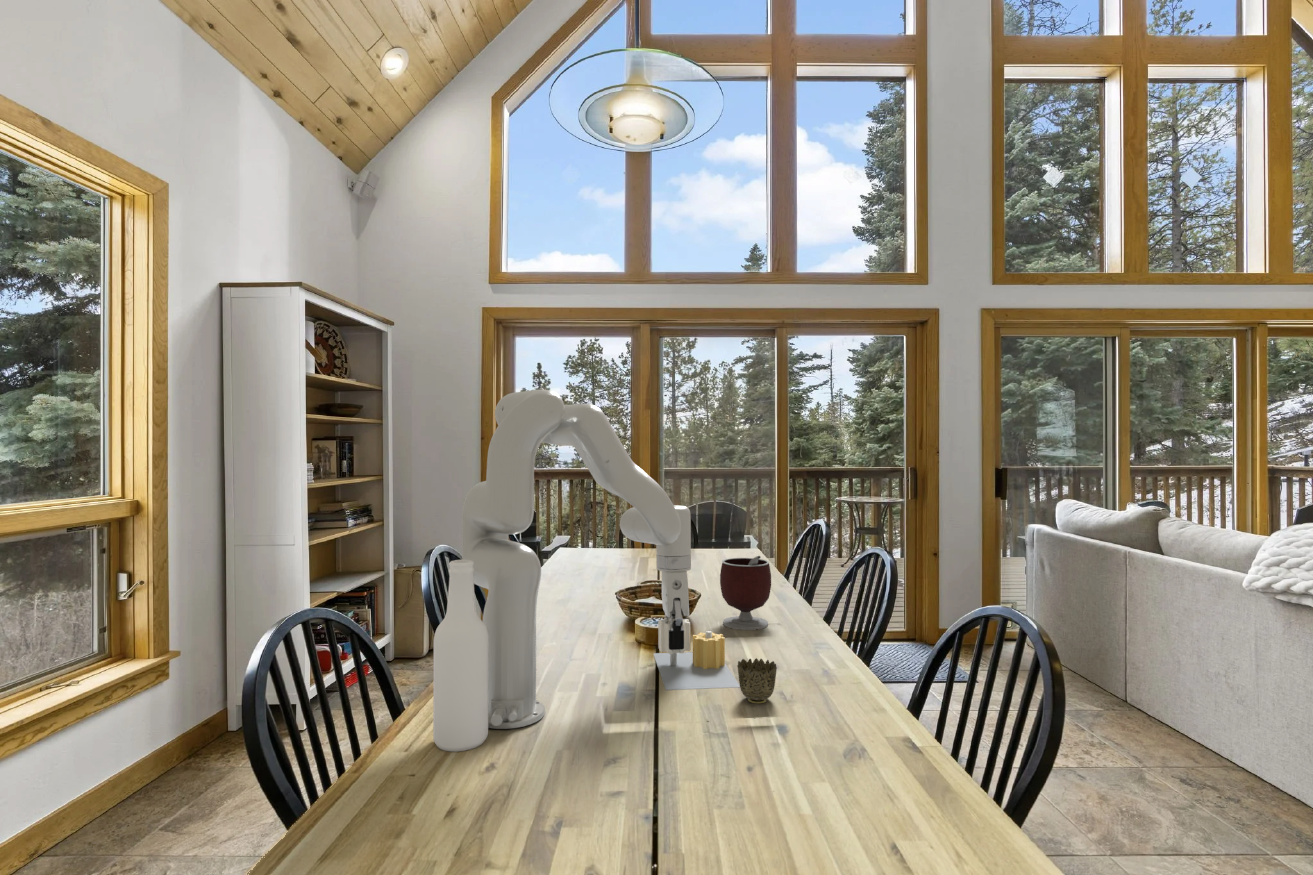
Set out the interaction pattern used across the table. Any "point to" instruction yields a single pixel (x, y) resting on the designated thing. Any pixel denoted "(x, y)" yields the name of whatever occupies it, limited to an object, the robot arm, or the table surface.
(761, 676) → the cup
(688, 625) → the cream gear
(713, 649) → the ochre gear
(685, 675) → the gear board
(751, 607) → the mate gourd
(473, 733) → the alcohol
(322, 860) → the table surface
